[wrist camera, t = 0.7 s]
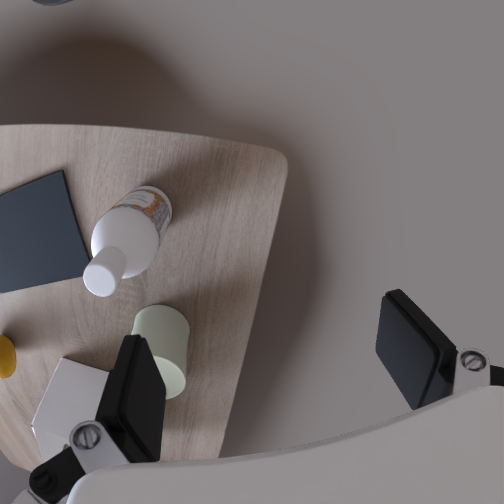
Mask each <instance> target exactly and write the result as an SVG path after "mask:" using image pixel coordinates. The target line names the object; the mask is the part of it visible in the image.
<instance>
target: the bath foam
mask: <svg viewBox="0 0 504 504" xmlns="http://www.w3.org/2000/svg"><path fill="white" fill-rule="evenodd" d="M171 216H172V207H171V203H170V201H169V199H168V197H167V196H166V195H165V194H164V193H163V192H162V191H161V190H159V189H158V188H155V187H152V186H141V187H138V188H135V189H134V190H132V191H131V192H129V193H128V194H127V195H126V196H125V197H123V198H122V199H121V200H120V201H119V202H118V203H116V204H115V205H114V206H113V207H112V208H111V209H110V210H109V211H107V212H106V213H105V214H104V215H103V216H102V217H101V218H100V220H99V221H98V223H97V225H96V226H95V229H94V231H93V235H92V240H91V249H92V254H93V257H94V258H93V259H92V261H91V262H90V263H89V264H88V266H87V267H86V269H85V271H84V275H83V279H84V283H85V285H86V287H87V288H88V290H89V291H90V292H92V293H93V294H95V295H97V296H102V297H105V296H109V295H111V294H112V293H113V292H114V291H115V290H116V288H117V286H118V285H119V283H120V281H121V279H122V278H129V277H133V276H136V275H138V274H140V273H141V272H143V271H144V270H145V269H146V268H147V267H148V266H149V265H150V264H151V263H152V262H153V260H154V259H155V257H156V255H157V252H158V250H159V247H160V245H161V242H162V240H163V237H164V235H165V232H166V230H167V228H168V225H169V222H170V220H171Z"/></svg>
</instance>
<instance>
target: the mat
mask: <svg viewBox="0 0 504 504" xmlns="http://www.w3.org/2000/svg"><path fill="white" fill-rule="evenodd" d="M90 262H91V260H90V258H89V255H88V252H87V249H86V246H85V243H84V240H83V238H82V234H81V231H80V228H79V225H78V222H77V219H76V215H75V212H74V209H73V205H72V202H71V198H70V194H69V191H68V187H67V183H66V179H65V175H64V171H63V170H61V171H58V172H56V173H53V174H50V175H48V176H45V177H43V178H40V179H38V180H35V181H33V182H30V183H28V184H25V185H23V186H21V187H18V188H16V189H14V190H11V191H9V192H7V193H5V194H3V195H0V293H5V292H10V291H15V290H19V289H24V288H29V287H33V286H38V285H43V284H48V283H52V282H57V281H62V280H67V279H71V278H76V277H81V276H83V275H84V271H85V269H86V267H87V266H88V264H89V263H90Z"/></svg>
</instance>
